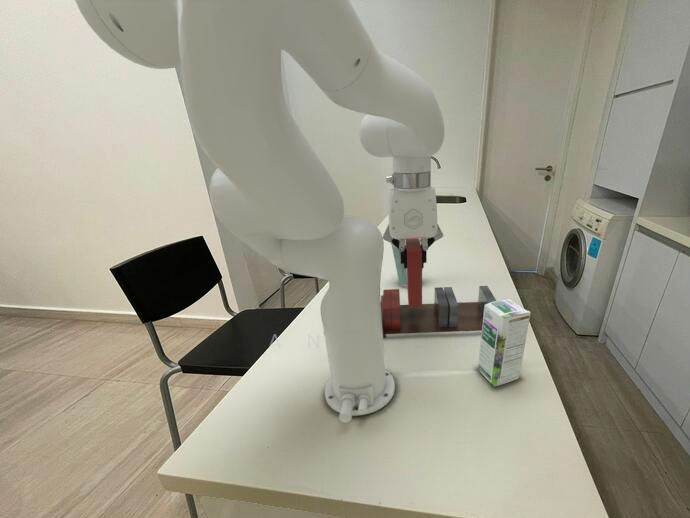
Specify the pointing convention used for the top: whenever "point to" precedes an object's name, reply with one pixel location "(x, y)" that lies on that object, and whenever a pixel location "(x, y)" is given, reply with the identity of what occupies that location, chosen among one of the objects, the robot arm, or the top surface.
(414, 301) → the red book
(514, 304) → the syrup box
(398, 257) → the disposable coffee cup
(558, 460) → the top surface
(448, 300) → the book rack
